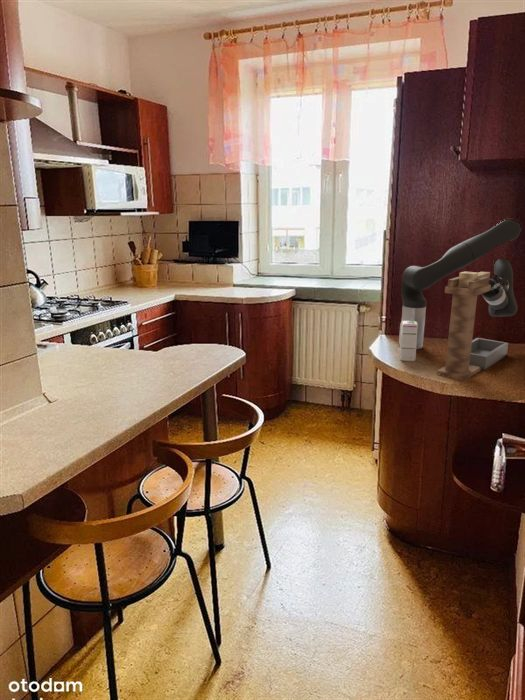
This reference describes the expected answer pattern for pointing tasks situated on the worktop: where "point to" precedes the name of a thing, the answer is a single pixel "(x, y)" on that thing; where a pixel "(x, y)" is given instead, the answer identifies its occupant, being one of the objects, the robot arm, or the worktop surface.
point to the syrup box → (408, 340)
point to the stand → (462, 327)
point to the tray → (487, 352)
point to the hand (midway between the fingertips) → (482, 274)
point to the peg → (470, 277)
